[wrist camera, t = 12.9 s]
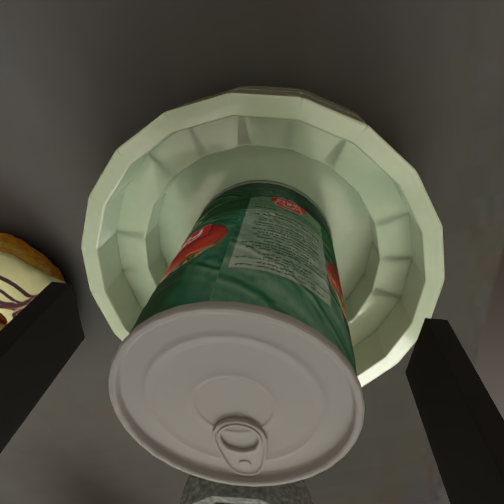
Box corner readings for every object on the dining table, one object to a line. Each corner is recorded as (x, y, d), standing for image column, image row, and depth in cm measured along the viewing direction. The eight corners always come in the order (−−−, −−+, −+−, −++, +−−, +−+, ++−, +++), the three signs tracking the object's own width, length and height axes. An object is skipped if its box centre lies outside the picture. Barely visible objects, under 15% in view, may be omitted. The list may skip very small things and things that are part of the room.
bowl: (107, 76, 18) (46, 82, 14) (451, 95, 17) (506, 108, 12) (141, 332, 26) (110, 388, 21) (376, 358, 25) (393, 423, 20)
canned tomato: (182, 185, 19) (68, 311, 10) (331, 172, 18) (369, 300, 9) (208, 305, 23) (144, 482, 13) (333, 300, 22) (363, 492, 12)
